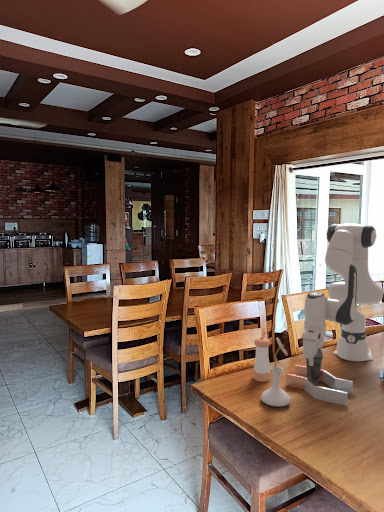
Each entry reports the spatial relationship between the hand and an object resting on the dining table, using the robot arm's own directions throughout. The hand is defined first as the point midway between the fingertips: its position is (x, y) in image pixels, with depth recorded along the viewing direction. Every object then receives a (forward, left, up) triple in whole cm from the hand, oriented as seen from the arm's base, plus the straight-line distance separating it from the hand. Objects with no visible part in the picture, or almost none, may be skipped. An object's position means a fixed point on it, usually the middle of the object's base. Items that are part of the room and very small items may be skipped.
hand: (313, 362), depth 163 cm
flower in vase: (+23, -9, -10) cm, 27 cm away
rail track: (+3, +2, -10) cm, 11 cm away
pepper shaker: (+5, -22, -10) cm, 24 cm away
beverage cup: (0, 0, -9) cm, 9 cm away
